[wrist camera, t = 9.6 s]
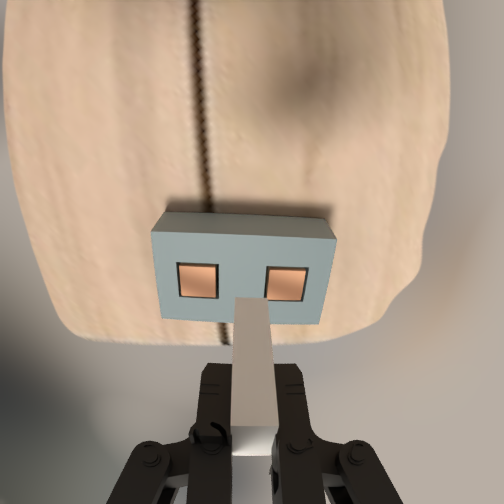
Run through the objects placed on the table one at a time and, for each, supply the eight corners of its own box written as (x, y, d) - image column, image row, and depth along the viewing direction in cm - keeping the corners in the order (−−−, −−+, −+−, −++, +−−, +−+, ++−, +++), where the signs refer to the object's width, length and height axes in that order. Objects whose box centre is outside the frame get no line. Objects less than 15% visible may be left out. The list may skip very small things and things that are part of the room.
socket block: (164, 211, 36) (150, 231, 31) (324, 218, 37) (337, 239, 32) (171, 291, 42) (161, 318, 37) (310, 296, 43) (318, 324, 37)
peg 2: (266, 245, 39) (269, 270, 33) (298, 246, 39) (305, 271, 33) (264, 272, 41) (266, 299, 35) (294, 273, 41) (300, 300, 35)
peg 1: (188, 242, 38) (179, 266, 33) (219, 243, 38) (215, 267, 33) (189, 269, 40) (181, 295, 35) (219, 270, 40) (215, 297, 35)
